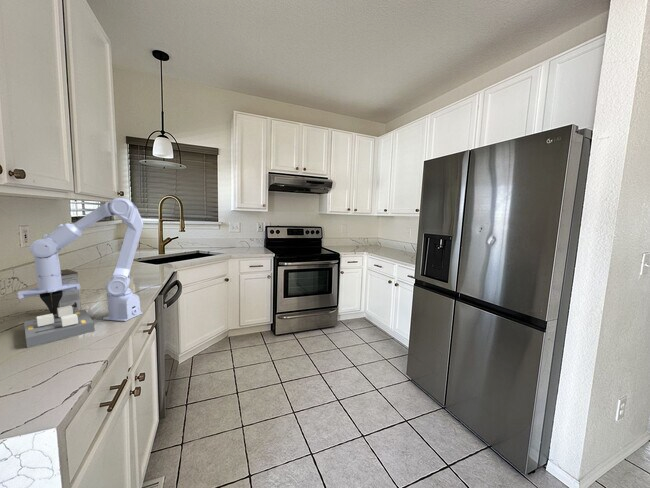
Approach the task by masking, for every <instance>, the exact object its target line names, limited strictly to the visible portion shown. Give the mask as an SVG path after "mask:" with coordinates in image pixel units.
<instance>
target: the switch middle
mask: <svg viewBox="0 0 650 488" xmlns="http://www.w3.org/2000/svg"><path fill="white" fill-rule="evenodd" d="M36 319H37V324H38V327H39V326H44V325H48V324H53V323H54V315H53V313H52V314H50V313H47V314H43V315H38V316H36Z"/></svg>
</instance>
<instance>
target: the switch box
mask: <svg viewBox="0 0 650 488" xmlns="http://www.w3.org/2000/svg"><path fill="white" fill-rule="evenodd" d="M73 314H77V316H78V323H77V324H73V325H69V326H64V327H63V326H62V324H61V317H59V316H58V315H56V314H55V315H53V316H54V323H53V324H48V325H44V326H39V327H38V324H37V318H35V319H29V320H26V321H23V322H24V323H23V324H24V325H23V327H24V333H25V343H26V348H27V349H28V348H32V347H37V346H40V345H45V344H48V343H52V342H56V341H61V340H64V339H69V338H72V337H75V336H76V337H77V336H81V335H84V334H88V333H91V332H95V331H96V329H95V322H94V320H93V319H92V318H91V316H90V315H89V313H88V312H87V310H86V309H81V310H79V311H74V312H73Z"/></svg>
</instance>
